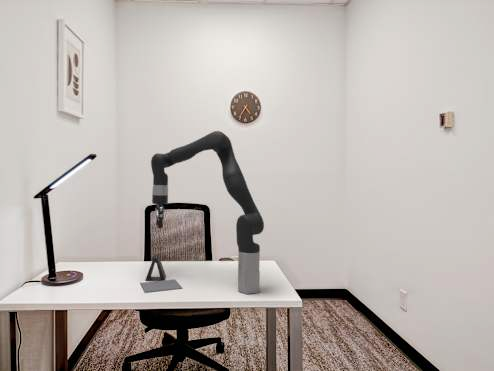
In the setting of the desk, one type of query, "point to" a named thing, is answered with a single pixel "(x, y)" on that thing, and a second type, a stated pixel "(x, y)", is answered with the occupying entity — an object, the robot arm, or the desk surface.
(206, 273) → the desk surface
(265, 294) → the desk surface
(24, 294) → the desk surface
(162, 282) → the mat
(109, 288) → the desk surface
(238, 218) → the robot arm
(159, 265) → the phone stand
